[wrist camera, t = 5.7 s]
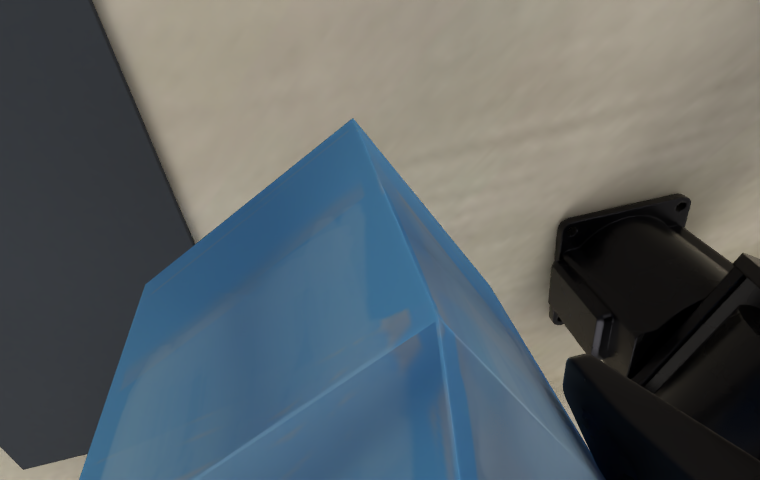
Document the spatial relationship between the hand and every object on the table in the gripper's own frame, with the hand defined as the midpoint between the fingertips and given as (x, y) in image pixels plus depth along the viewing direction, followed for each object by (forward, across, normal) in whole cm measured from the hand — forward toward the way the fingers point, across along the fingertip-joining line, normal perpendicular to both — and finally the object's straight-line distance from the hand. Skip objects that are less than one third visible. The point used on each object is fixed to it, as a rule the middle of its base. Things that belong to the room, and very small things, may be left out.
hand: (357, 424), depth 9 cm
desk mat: (+12, +11, +3) cm, 17 cm away
